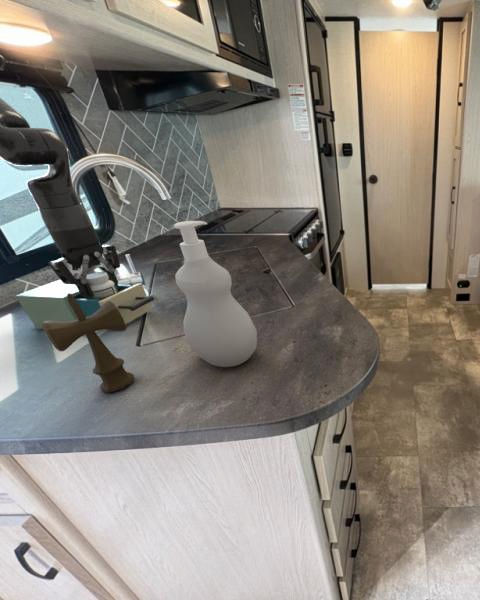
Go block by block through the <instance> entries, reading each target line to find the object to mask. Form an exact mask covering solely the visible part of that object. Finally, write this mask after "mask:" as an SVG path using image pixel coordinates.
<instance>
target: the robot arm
mask: <svg viewBox="0 0 480 600" xmlns="http://www.w3.org/2000/svg"><path fill="white" fill-rule="evenodd" d="M0 159H2V160H3V161H5V162H6V163H8V164H11V165H13V166H19V167H31V166H32V167H33V166H48V170H47V172H46V174H44V175H42V176H37V177H35V178H31V179H28V180H27V182H26V187H27V189H28V192H29V193H30V196H31V197H32V199H33V201H34V203H35V205H36V206H37V208H38V211H39V213H40V217H41V220H42V222H43V223H44V225H45V227H46V229H47V231H48V233H49V235H50V237H51V239H52V241H53V242H54V244H55V246H56V248H57V249H58V250H59V251H60V253H61V258H58V259H56V260H50V261H48V266H49V267H50V268H51V270H52V271H53V272H54V273H55V274H56V276H57V277H58V278H59V280H60V279H61V281H62V282H63V283H64V284H75V285H76V286H77V288H78V290H79V292H80V294H81V295H82V296H84V297H89V298H91V297H93V296H94V294H93V292H92V290H91V288H90V286H89V284H88V283H86V282H87V275H89V270H90V269H91V268H93V267H95V268H98V269H99V270H100V272H106V273H107V274H108V276H109V278H108V280H111V281H113V282H114V284H115V286H118V284H119V280H118V278H117V276H116V274H115V271H116V269H119V268H121V265H120V260H119V256H118V253H117V248H116V246H115V245H112V244H103V245H101V244H100V238H99V236H98V234H97V232H96V230H95V227H94V225H93V223H92V221H91V219H90V216H89V214H88V212H87V210H86V209H85V208H84V206H83V204H82V202H81V200H80V199H79V195H78V194H77V192H76V189H75V187H74V183H73V179H72V173H71V166H70V155H69V149H68V146H67V144H66V142H65V140H63V138H62V137H61V136H60V135H59V134H58V133H56V132H55V131H53V130H51V129H49V128H43V127H31V125H30V123H29V122H28V121H27V119H26V118H25V117H24V116H23V115H22V114H20V113H19V112H18V111H17V110H16V109H15V108H13V107H12V106H11V105H10V104H8V103H7V102H6V101H5V100H4V99H2V98H1V97H0ZM103 254H104V256H103ZM68 264H69V265H68Z"/></svg>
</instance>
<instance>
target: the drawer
mask: <svg viewBox="0 0 480 600" xmlns="http://www.w3.org/2000/svg"><path fill="white" fill-rule="evenodd" d="M116 288H117V290H118V293H116V294H114V295H112V296H110V297H107V298H105V299H103V300H101V301H100V300H99V299H89V297H84V296H82V295H81V294H79V295H77V296H74V298H75V300H76V301H77V303H78V305H79V306H80V308H81V310H82V311H83V313H84V315H85V316H86V317H88V316H91V315H93V314H94V313H96V312H97V311H98V310H99V309H100V308H101V307H102V306H103V305H104V304H105V303H106V302H107V301H110V302H112V303H113V304H114V305H115V306H116V307H117V309H118V310H119V312H120V314H121V315H122V317H123V319H124V322H125V325H127V324H129V323H131V322H132V321H134V320H136V319H138V318H139V317H141V316H143V315H144V314H146V313H148V312H150V311H151V310H153V307H152V304H151V302H152V301H155V298H154V296H152V295H147V292H146V290H145V289H144V286H143V284H142V283H138V282H137V283H135V284H133V285H132V284H119V283H118V286H116ZM67 300H68V301H69V299H67ZM69 303H70V301H69ZM70 305H71V303H70ZM71 307H72V305H71ZM72 308H73V307H72ZM73 310H74V309H73ZM74 312H75V311H74ZM75 314H76V313H75Z"/></svg>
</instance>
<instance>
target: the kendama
mask: <svg viewBox="0 0 480 600" xmlns="http://www.w3.org/2000/svg"><path fill="white" fill-rule="evenodd" d="M67 296H68V299H69V301H70V303H71V305H72V307H73V309H74V311H75V313H76V315H77V317H78V319H79V320H75V321H44V322H43V323H42V326H43V329H42V330H43V331H44V333H45V335H46V337H47V338H48V340H49V341H50V343H51V345H52V346H53V347H54V348H55V349H56V350H57V351H58V352H65V351H66V350H68V349H69V348H70V347H71V346H72V345H73V344H74V343H75V342H76V341H78V340H79V339H81V338H82V337H84V336H86V339H87V341H88V344H89V348H90V349H91V352H92V356H93V359H94V362H95V364H94V365H95V366H94V367H93V368H92V373H93V374H94V375H96V376H100V379H101V380H102V382H101V384H100V386H99V388H100V391H101V392H103V393H114V392H118V391H120V390H123V389H125V388H126V387H128V386H129V385H130V384H132V383H133V382H134V380H135V375H134V374H133V373H131V372H129V371H126V369H125V367H124V364H125V360H124V359H123V358H121V357H116V356H115V355H114V354H113V353H112V351H111V350H110V349H109V348H108V347H107V346H106V345H105V343H104V342H103V340H102V339H101V338H100V336H99V335H98V333H97V332H99V331H114V332H125V331H126V330H127V324H125V322H124V319H123V317H122V315H121V314H120V312H119V310H118V309H117V307H116V306H115V305H114V304H113V303H112V302H110V301H107V302H106V303H105V304H104V305H103V306H102V307H101V308H100V309H99V310H98V311H97V312H96V313H94V314H93V315H91V316H88V317H86V316H85V315H84V313H83V311H82V310H81V308H80V306H79V305H78V303H77V301H76V300H75V298H74V297H73V296H72V294H70V293H68V294H67Z"/></svg>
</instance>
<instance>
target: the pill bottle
mask: <svg viewBox="0 0 480 600" xmlns="http://www.w3.org/2000/svg"><path fill="white" fill-rule="evenodd" d="M108 278H109V276H108V274H107V273H106V272H103V271H100V272H99V271H98V272H93V273H88V274H87V282H86V283H88V284H89V286H90V288H91V290H92V292H93V294H94V296H93V297H91V298H89V299H99V300H100V301H101V300H103V299H105V298H107V297H110V296H112V295H114V294H116V293H118V290H117V288H116V286H115V284H114V282H113V281H111V280H108Z"/></svg>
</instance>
